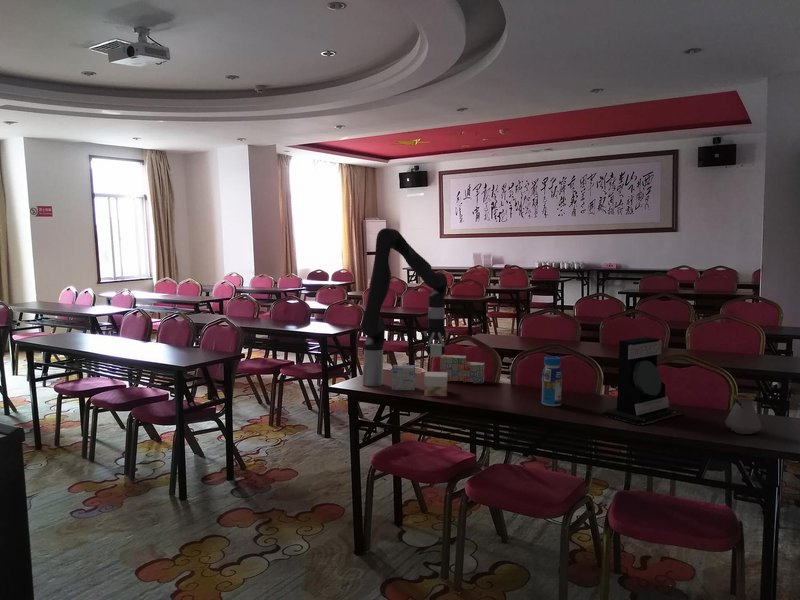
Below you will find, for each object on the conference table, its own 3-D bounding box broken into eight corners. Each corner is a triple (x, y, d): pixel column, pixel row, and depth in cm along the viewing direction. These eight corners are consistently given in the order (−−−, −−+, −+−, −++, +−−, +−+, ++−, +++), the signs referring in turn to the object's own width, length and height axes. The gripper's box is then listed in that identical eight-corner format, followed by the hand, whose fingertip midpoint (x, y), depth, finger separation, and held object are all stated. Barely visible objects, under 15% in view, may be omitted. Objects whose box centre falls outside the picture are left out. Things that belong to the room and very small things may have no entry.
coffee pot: (728, 425, 226) (730, 385, 225) (763, 431, 218) (766, 390, 217) (714, 438, 210) (716, 396, 208) (752, 445, 202) (754, 402, 201)
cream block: (424, 386, 268) (424, 376, 268) (425, 381, 278) (425, 371, 278) (446, 386, 267) (447, 376, 267) (447, 381, 277) (447, 372, 277)
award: (641, 427, 223) (644, 347, 220) (598, 415, 238) (600, 340, 236) (685, 414, 241) (688, 340, 238) (642, 404, 256) (645, 334, 253)
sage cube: (430, 356, 269) (430, 345, 269) (430, 354, 274) (430, 343, 274) (441, 356, 269) (441, 345, 268) (441, 354, 274) (441, 344, 273)
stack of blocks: (484, 381, 299) (485, 356, 298) (482, 383, 293) (483, 359, 292) (442, 378, 305) (442, 354, 304) (439, 381, 299) (440, 356, 298)
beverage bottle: (538, 401, 259) (539, 355, 257) (557, 401, 260) (559, 355, 258) (544, 406, 251) (545, 359, 249) (564, 406, 251) (565, 359, 250)
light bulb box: (415, 387, 284) (415, 364, 283) (414, 390, 278) (414, 367, 277) (393, 386, 286) (393, 364, 285) (391, 390, 279) (391, 367, 278)
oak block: (424, 396, 268) (424, 386, 268) (424, 390, 278) (425, 381, 278) (446, 396, 268) (447, 386, 267) (446, 391, 278) (446, 381, 277)
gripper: (420, 317, 267) (419, 355, 268) (452, 318, 266) (452, 356, 267) (420, 316, 274) (420, 352, 275) (452, 316, 273) (451, 353, 275)
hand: (436, 354), depth 271 cm, fingers closed on sage cube, 5 cm apart
